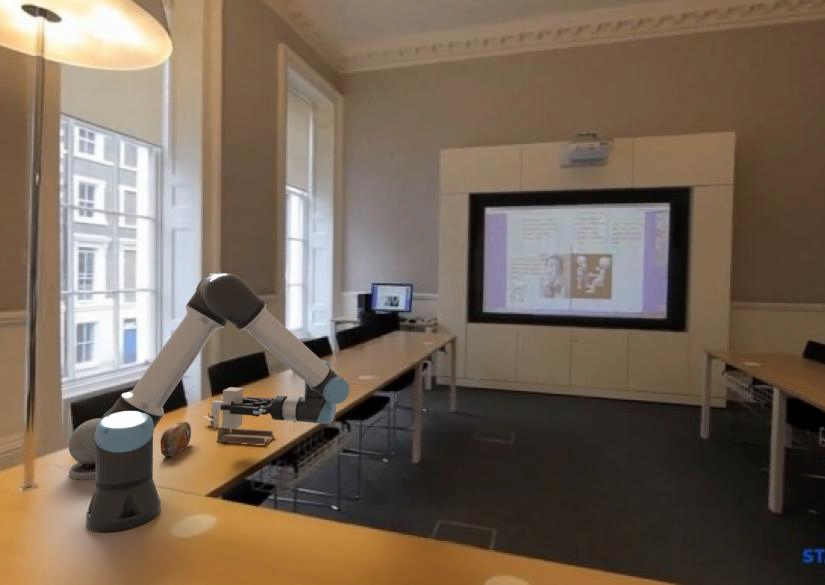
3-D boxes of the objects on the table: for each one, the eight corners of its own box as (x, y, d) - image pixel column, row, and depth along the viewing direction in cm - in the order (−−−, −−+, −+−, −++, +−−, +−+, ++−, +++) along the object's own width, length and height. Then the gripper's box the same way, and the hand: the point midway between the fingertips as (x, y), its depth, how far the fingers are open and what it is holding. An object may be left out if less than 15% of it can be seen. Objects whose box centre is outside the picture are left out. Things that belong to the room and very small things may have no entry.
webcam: (119, 475, 136) (120, 423, 135) (64, 483, 130) (64, 428, 129) (123, 459, 147) (123, 411, 147) (72, 465, 141) (73, 415, 141)
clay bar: (235, 428, 152) (236, 391, 152) (222, 427, 153) (223, 390, 152) (242, 424, 156) (243, 388, 156) (229, 423, 157) (230, 387, 157)
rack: (264, 445, 162) (264, 431, 162) (216, 442, 164) (217, 427, 164) (274, 437, 170) (274, 423, 170) (228, 434, 172) (228, 420, 172)
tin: (168, 460, 147) (168, 433, 147) (158, 460, 147) (158, 433, 147) (191, 443, 162) (192, 418, 162) (182, 443, 162) (182, 418, 162)
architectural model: (209, 430, 177) (210, 410, 177) (202, 425, 182) (202, 406, 182) (218, 428, 180) (219, 408, 179) (211, 424, 185) (211, 405, 184)
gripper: (275, 428, 144) (201, 422, 146) (296, 412, 161) (230, 407, 164) (275, 403, 143) (202, 398, 146) (296, 390, 161) (230, 385, 164)
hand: (217, 403), depth 155 cm, fingers closed on clay bar, 4 cm apart
